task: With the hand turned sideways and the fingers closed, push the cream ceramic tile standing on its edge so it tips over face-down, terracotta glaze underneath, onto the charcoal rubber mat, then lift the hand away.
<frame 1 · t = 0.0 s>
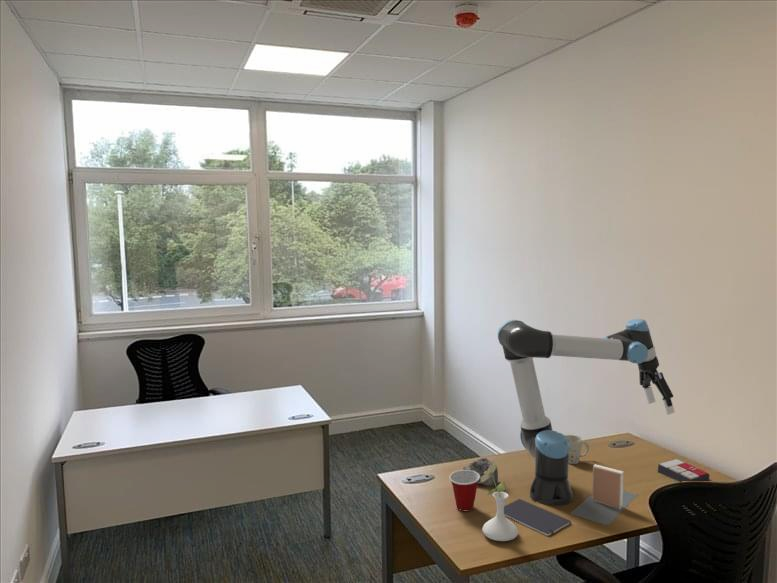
hand: (661, 407, 229), 28 cm above the table, tool tilted 20°, fingers open, 13 cm apart
plastic cup: (464, 508, 208), on the table
mug: (575, 461, 248), on the table
flower in vase: (498, 536, 189), on the table
tile: (607, 503, 209), point 1 cm above the table, touching mat
notebook: (532, 520, 201), on the table
mineral rock: (480, 482, 229), on the table
mat: (605, 505, 209), on the table
calculator: (682, 477, 232), on the table
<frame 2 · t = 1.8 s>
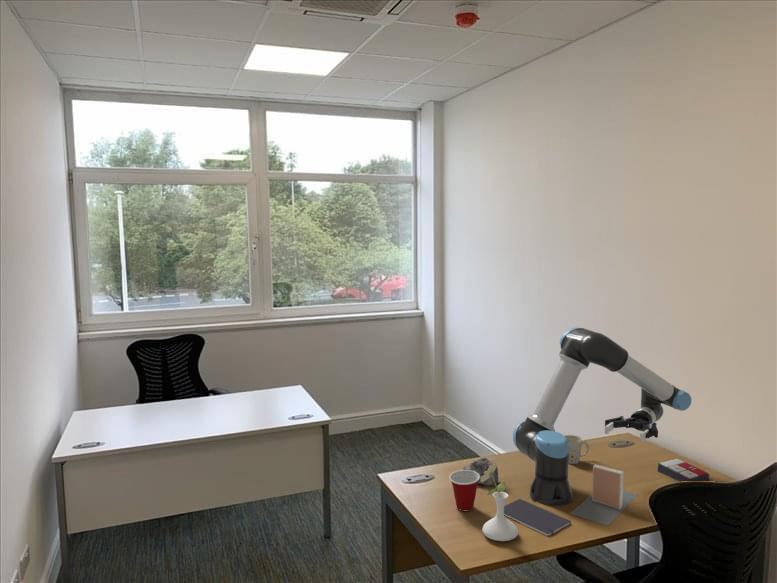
hand: (623, 434, 217), 22 cm above the table, tool horizontal, fingers open, 12 cm apart
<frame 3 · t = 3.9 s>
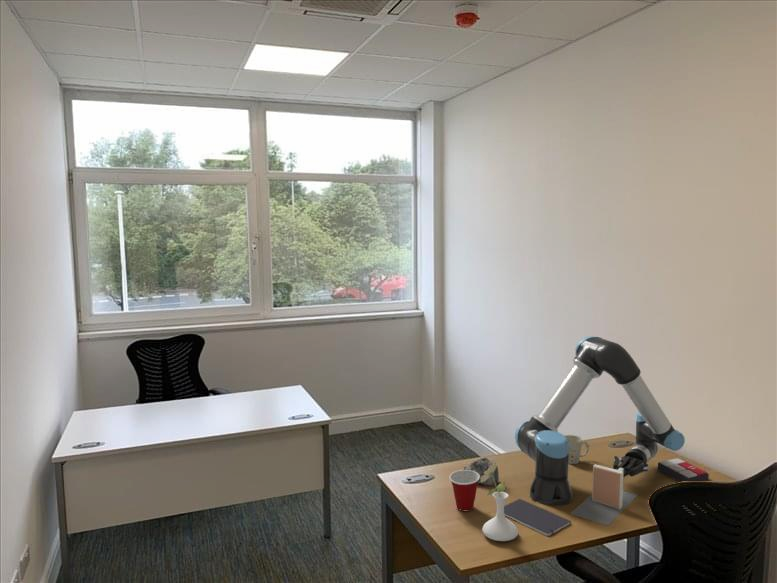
hand: (615, 477, 213), 8 cm above the table, tool horizontal, fingers closed
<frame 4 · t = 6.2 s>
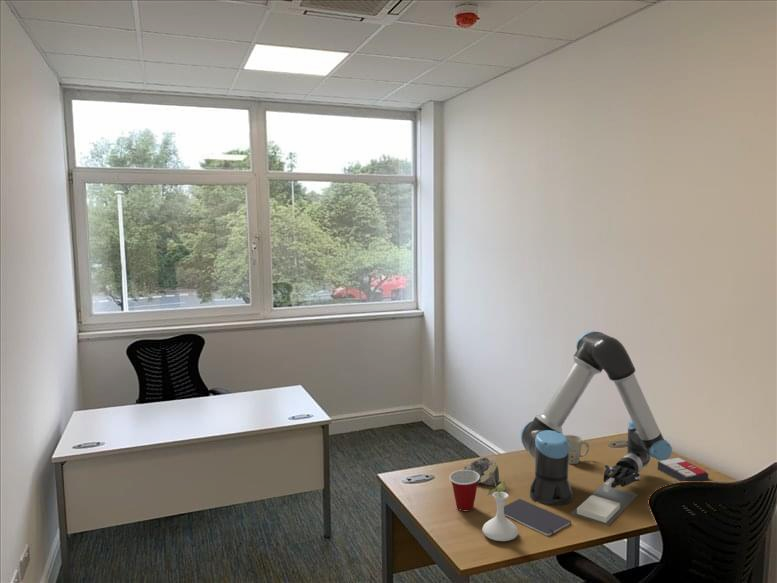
hand: (605, 487, 206), 7 cm above the table, tool horizontal, fingers closed
tile: (605, 501, 207), point 2 cm above the table, tilted 90°, touching mat
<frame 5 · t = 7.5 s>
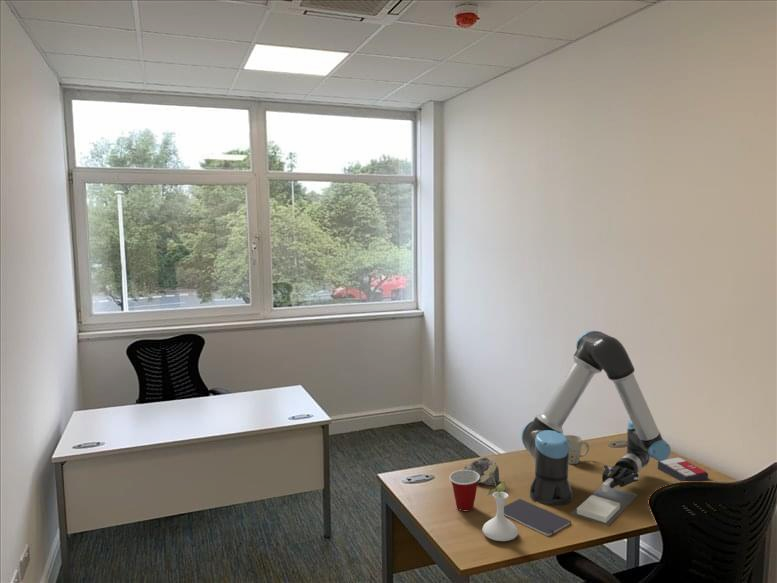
hand: (604, 488, 205), 8 cm above the table, tool horizontal, fingers closed
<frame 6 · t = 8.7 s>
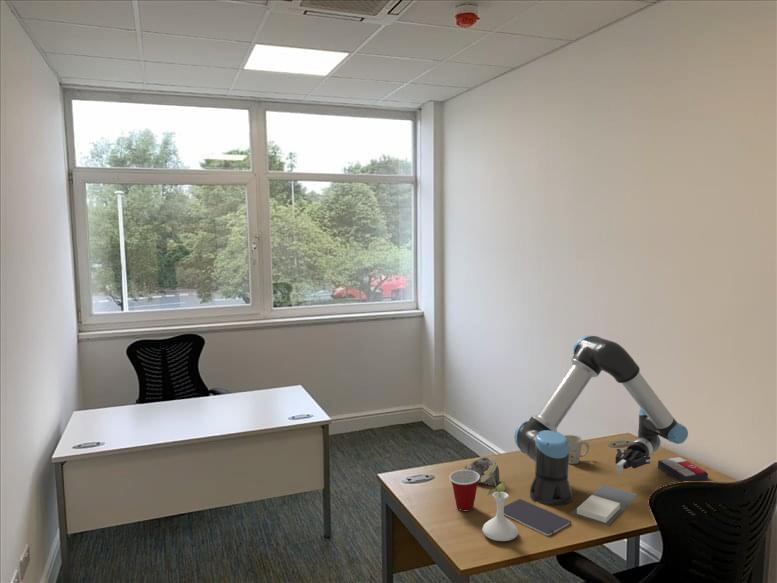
hand: (617, 468, 214), 11 cm above the table, tool horizontal, fingers closed
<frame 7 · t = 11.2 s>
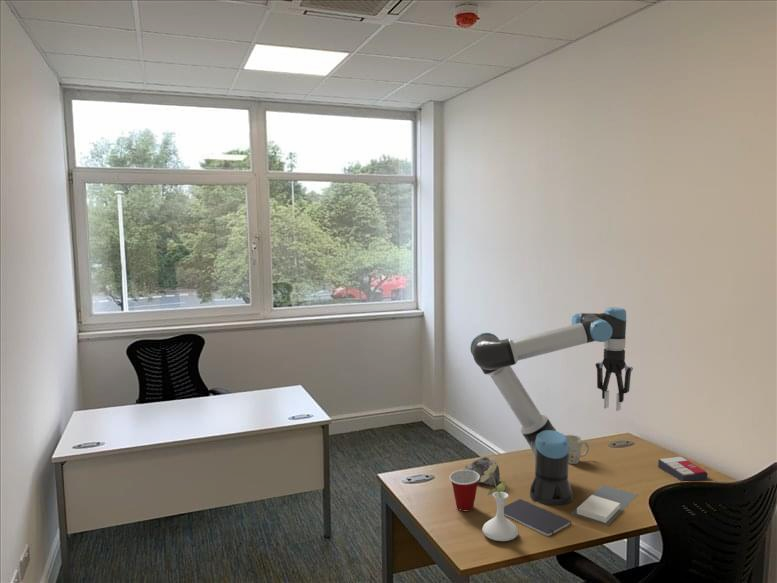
hand: (612, 408, 224), 30 cm above the table, tool pointing down, fingers open, 4 cm apart
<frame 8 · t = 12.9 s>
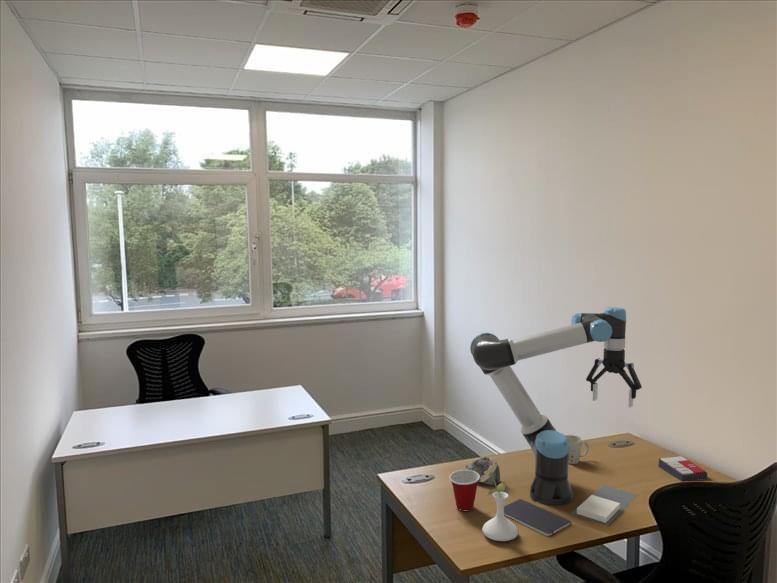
hand: (612, 403, 223), 32 cm above the table, tool pointing down, fingers open, 13 cm apart
at the end: tile tilted 90°; tile touching mat; tile inside the target area (1.7 cm from its centre), point 1.9 cm above the table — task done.
